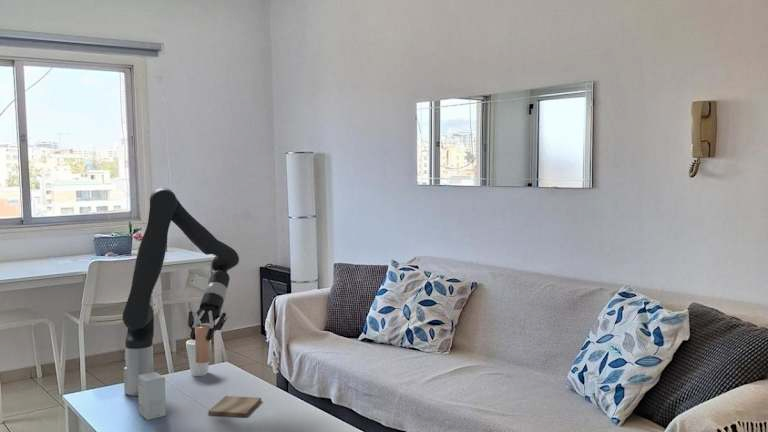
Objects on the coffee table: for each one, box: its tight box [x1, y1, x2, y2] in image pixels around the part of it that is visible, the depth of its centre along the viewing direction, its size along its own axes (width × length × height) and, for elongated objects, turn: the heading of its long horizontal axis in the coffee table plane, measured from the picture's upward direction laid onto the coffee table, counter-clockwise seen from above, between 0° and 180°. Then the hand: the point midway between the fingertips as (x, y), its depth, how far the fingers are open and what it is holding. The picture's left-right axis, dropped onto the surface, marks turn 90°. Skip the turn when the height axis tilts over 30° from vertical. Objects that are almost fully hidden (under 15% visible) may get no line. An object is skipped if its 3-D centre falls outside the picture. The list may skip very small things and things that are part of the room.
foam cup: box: [185, 338, 212, 377], centre depth 265 cm, size 10×9×13 cm
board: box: [207, 395, 262, 418], centre depth 228 cm, size 13×15×1 cm
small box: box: [137, 371, 167, 420], centre depth 221 cm, size 8×6×13 cm
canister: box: [195, 324, 212, 363], centre depth 230 cm, size 5×5×12 cm
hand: (200, 339), depth 228 cm, fingers closed on canister, 5 cm apart
